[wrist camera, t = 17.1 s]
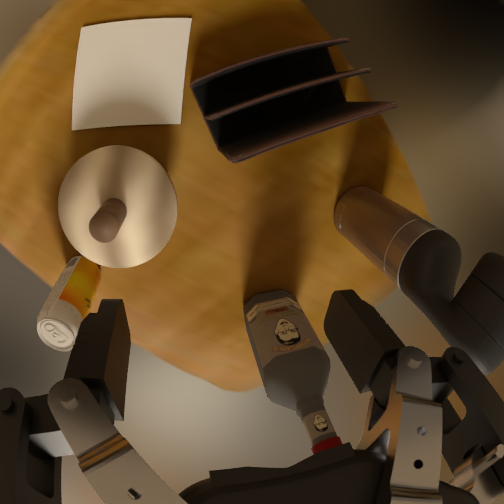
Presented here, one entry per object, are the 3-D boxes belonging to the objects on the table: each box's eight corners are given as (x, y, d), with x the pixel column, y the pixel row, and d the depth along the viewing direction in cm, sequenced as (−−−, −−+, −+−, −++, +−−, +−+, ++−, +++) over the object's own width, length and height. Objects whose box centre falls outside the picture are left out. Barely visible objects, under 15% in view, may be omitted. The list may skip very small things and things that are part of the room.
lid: (179, 143, 29) (177, 150, 24) (178, 263, 36) (178, 290, 31) (56, 150, 25) (32, 160, 20) (70, 264, 32) (55, 290, 27)
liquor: (293, 322, 54) (360, 460, 28) (246, 333, 52) (295, 483, 26) (292, 284, 49) (379, 435, 23) (241, 295, 48) (298, 465, 22)
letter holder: (344, 105, 36) (407, 111, 24) (218, 151, 36) (235, 173, 24) (323, 44, 31) (382, 25, 19) (189, 85, 31) (190, 69, 19)
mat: (191, 19, 26) (191, 18, 26) (180, 123, 33) (180, 124, 33) (83, 28, 23) (81, 27, 22) (73, 130, 30) (71, 130, 29)
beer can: (82, 291, 41) (57, 358, 28) (61, 263, 38) (25, 325, 25) (109, 277, 41) (87, 345, 28) (87, 246, 38) (54, 309, 25)
